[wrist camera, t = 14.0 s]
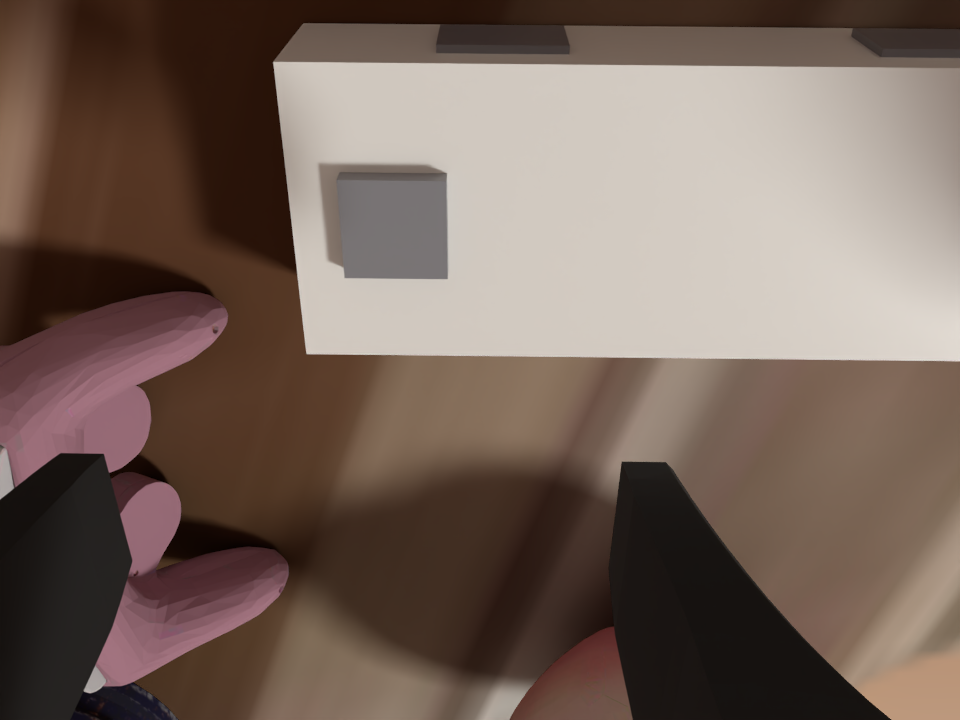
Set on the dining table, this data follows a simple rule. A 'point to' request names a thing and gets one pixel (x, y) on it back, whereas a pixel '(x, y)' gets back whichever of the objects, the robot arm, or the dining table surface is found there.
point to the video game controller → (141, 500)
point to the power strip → (624, 190)
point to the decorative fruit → (580, 685)
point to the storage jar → (121, 705)
